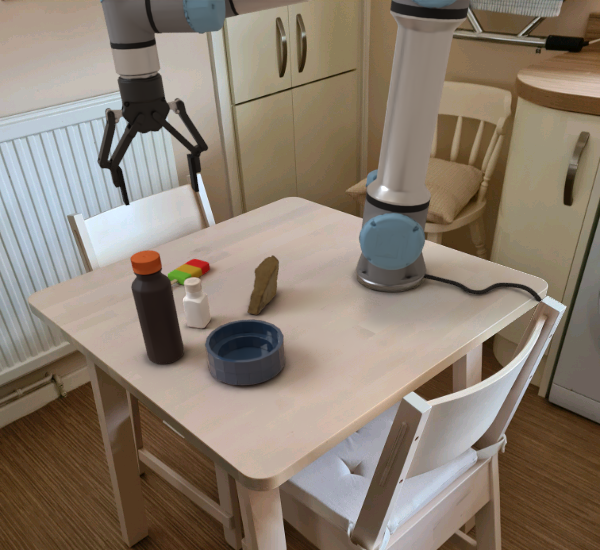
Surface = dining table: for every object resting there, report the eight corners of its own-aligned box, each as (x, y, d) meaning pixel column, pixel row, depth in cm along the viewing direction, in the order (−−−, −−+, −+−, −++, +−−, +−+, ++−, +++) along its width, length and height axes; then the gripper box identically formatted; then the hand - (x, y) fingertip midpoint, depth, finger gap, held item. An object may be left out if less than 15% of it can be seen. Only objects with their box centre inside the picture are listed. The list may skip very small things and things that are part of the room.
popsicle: (212, 269, 143) (211, 262, 142) (168, 297, 134) (167, 290, 132) (194, 264, 146) (193, 257, 144) (150, 292, 136) (148, 284, 135)
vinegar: (168, 340, 120) (147, 244, 107) (191, 352, 116) (173, 254, 104) (140, 356, 116) (116, 258, 103) (164, 369, 112) (142, 269, 100)
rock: (261, 313, 122) (297, 289, 126) (237, 275, 120) (275, 252, 125) (240, 323, 132) (275, 301, 136) (218, 289, 130) (254, 267, 134)
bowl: (295, 349, 116) (293, 324, 112) (269, 393, 105) (267, 367, 102) (227, 339, 119) (224, 315, 116) (196, 381, 109) (191, 355, 106)
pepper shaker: (186, 327, 124) (178, 284, 118) (194, 317, 126) (187, 275, 121) (204, 329, 123) (197, 287, 117) (212, 319, 125) (205, 277, 120)
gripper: (202, 61, 112) (217, 179, 125) (61, 79, 105) (92, 202, 118) (215, 68, 106) (229, 190, 120) (67, 88, 99) (99, 215, 112)
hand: (161, 196), depth 119 cm, fingers open, 13 cm apart
